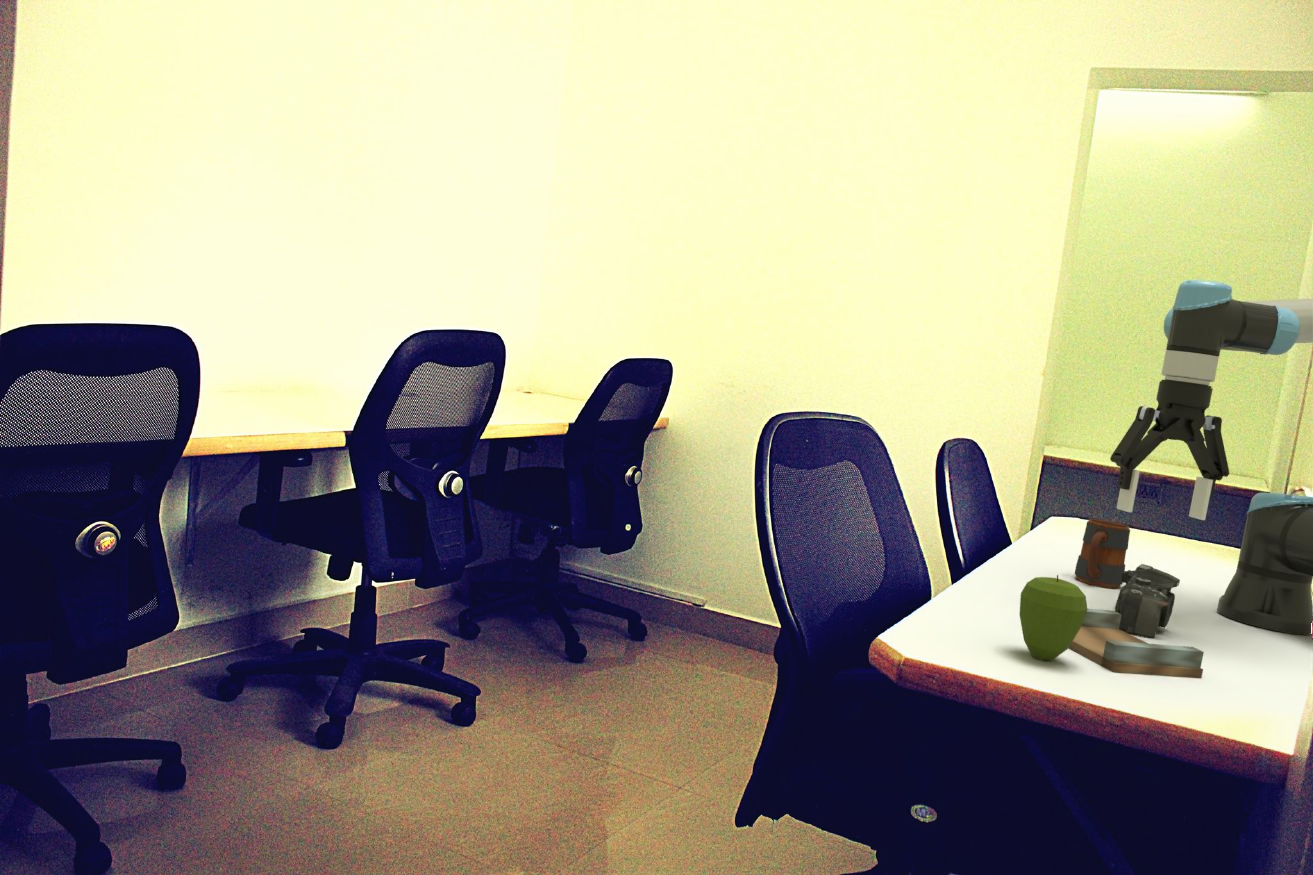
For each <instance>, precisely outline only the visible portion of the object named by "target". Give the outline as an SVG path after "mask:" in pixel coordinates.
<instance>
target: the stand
mask: <svg viewBox="0 0 1313 875" xmlns="http://www.w3.org/2000/svg"><path fill="white" fill-rule="evenodd" d="M1087 609H1088V610H1087V612H1086V615H1085V617H1084V620H1083V623H1082V625H1081V628H1080V630H1079V631H1078V633H1077V635H1076V636H1075V638H1074V640H1073V641H1072V643H1071V645H1070V646H1069V648H1068V649H1069V650H1072V651H1074V652H1075V653H1077V654H1079V655H1081V656H1083V657H1084V658H1085V659H1086V658H1087V659H1089V660H1090V661H1092V662H1094V663H1096V664H1098V665H1099V666H1101V667H1103V668H1105V669H1107V670H1108V671H1111V672H1113V673H1124V674H1141V675H1150V676H1151V675H1152V676H1153V675H1154V676H1167V677H1169V676H1170V677H1184V678H1185V677H1186V678H1199V679H1201V678H1203V672H1204V669H1203V668H1201V667H1202V664H1203V657H1204V655H1205V654H1204V653H1205V651H1203V650H1201V649H1199V648H1196V647H1194V646H1185V645H1174V644H1172V645H1170V644H1160V643H1159V644H1157V643H1148V642H1146V641H1145V640H1143V639H1140V638H1139V637H1136V636H1135V635H1133V634H1130V633H1127V632H1124V631H1121V630H1119V625H1120V620H1121V615H1122V614H1119V613H1117V612H1115V610H1111V609H1098V608H1088V607H1087Z"/></svg>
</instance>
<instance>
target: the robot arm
mask: <svg viewBox="0 0 1313 875" xmlns="http://www.w3.org/2000/svg"><path fill="white" fill-rule="evenodd" d="M1232 293H1233V289H1232V286H1231V284H1228V283H1224V282H1219V281H1210V280H1201V279H1198V280H1197V279H1192V280H1191V279H1189V280H1185V281H1182V282H1181V283H1180V284H1179V286H1178V289H1177V293H1176V296H1175V298H1174V299H1175V300H1174V303H1173V306H1172V308H1170V309H1169V311H1167V313H1166V315H1165V317H1164V320H1163V333H1164V336H1165V337H1166V339H1167V342H1166V349H1165V353H1164V358H1163V362H1162V364H1163V365H1162V369H1161V373H1160V374H1161V375H1162V376H1164V379H1161V381H1159V383H1158V389H1157V392H1156V393H1157V394H1156V402H1157V407H1156V409H1155V408H1154V407H1149V406H1142V405H1140V406H1138V408H1137V411H1136V414H1135V418H1134V421H1133V422H1132V424H1131V425H1130V426H1129V428H1128V429H1127V431H1126V432H1125V434H1124V436H1123V437H1122V438H1121V440H1120V442H1119V443H1118V444H1117V447H1116V448H1115V450H1114V451H1113V453H1112V454H1111V455H1110V459H1109V460H1110V461H1111V462H1113V463H1115V465H1116V466H1117V467H1119V468H1120V470H1119V475H1118V480H1117V488H1119V494H1118V498H1117V503H1116V509H1117V510H1119V511H1124V512H1127V513H1133V509H1134V505H1135V499H1136V493H1137V489H1138V484H1139V478H1140V472H1141V471H1139V470H1136V468H1137V467H1138V466H1139V465H1140V464H1142V463H1143V461H1144V460H1146V458H1148V456H1150V455H1151V453H1153V452H1154V451H1155V450H1156V449H1157V447H1158V446H1160V444H1161V443H1163V442H1165V441H1167V440H1171V441H1181V442H1184V443H1185V444H1186V445H1187V448H1188V450H1189V451H1190V453H1191V456H1192V458H1193V459H1194V462H1195V464H1196V466H1197V468H1198V471H1199V473H1200V474H1201V476H1196V477H1195V483H1194V488H1193V493H1192V497H1191V498H1192V499H1191V503H1190V509H1189V512H1188V513H1189V514H1188V517H1190V518H1194V519H1196V520H1200V521H1206V516H1207V513H1208V509H1209V508H1208V506H1209V502H1210V500H1212V498H1213V496H1214V491H1215V486H1216V482H1217V481H1221V480H1223V477H1225V478H1227V477H1229V476H1230V469H1229V463H1228V459H1227V454H1226V451H1225V445H1224V444H1225V443H1224V440H1223V436H1222V424H1223V419H1222V417H1221V416H1217V415H1206V414H1205V412H1206V410H1207V409H1208V408H1210V404H1211V400H1212V394H1213V390H1214V389H1213V386H1212V385H1210V384H1211V383H1213V382H1215V379H1216V374H1217V370H1218V369H1217V368H1218V364H1219V358H1220V356H1221V354H1220V353H1221V351H1234V352H1235V351H1236V352H1249V353H1256V354H1260V355H1264V356H1266V355H1272V356H1280V355H1283V354H1285V353H1287V352H1288V351H1289V350H1291V349H1292V347H1294V345H1295V344H1309V343H1310V344H1311V343H1312V344H1313V298H1295V299H1293V298H1291V299H1289V298H1288V299H1270V300H1247V301H1246V300H1245V301H1243V300H1242V301H1241V300H1236V299H1233V296H1232ZM1153 422H1155V423H1154V424H1153ZM1152 424H1153V426H1152ZM1151 426H1152V427H1151ZM1150 427H1151V428H1150ZM1202 428H1203V429H1202ZM1201 429H1202V430H1203V433H1202V430H1201ZM1239 551H1240V552H1239V557H1238V560H1237V565H1236V570H1235V573H1234V575H1233V577H1232V578H1231V580H1230V581H1229V584H1227V587H1226V589H1225V591H1224V594H1222V595H1221V596H1220V597H1219V600H1218V603H1217V607H1216V612H1218V613H1219V614H1221V615H1222V616H1225V617H1227V618H1229V619H1231V620H1234V621H1237V622H1241V623H1243V624H1247V625H1249V626H1253V627H1258V628H1262V629H1266V630H1271V631H1276V632H1281V633H1287V634H1293V635H1294V634H1295V635H1312V634H1311V623H1312V621H1313V597H1312V596H1313V595H1312V584H1313V496H1307V495H1297V494H1288V493H1287V494H1286V493H1276V492H1258V493H1256V494H1255V495H1254V496H1252V498H1251V501H1250V503H1249V509H1248V510H1247V511H1246V519H1245V523H1244V529H1243V533H1242V540H1241V545H1240V550H1239Z"/></svg>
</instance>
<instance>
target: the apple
mask: <svg viewBox="0 0 1313 875" xmlns="http://www.w3.org/2000/svg"><path fill="white" fill-rule="evenodd" d="M1019 601H1020V602H1019V619H1020V626H1021V630H1022V636H1023V641H1024V643H1025V645H1026V647H1027V649H1028V651H1029V653H1030V655H1031V657H1032V658H1034V659H1036V660H1040V661H1051V660H1054V659H1056V658H1058V657H1059V656H1060V655H1062V654H1063V653H1064V652H1066V651H1067V650H1068V649H1070V648H1069V646H1070V645H1071V643H1072V641H1073V640H1074V638H1075V636H1076V635H1077V633H1078V631H1079V630H1080V628H1081V625H1082V623H1083V620H1084V617H1085V615H1086V612H1087V610H1088V609H1089V608H1088V605H1087V604H1088V603H1087V597H1086V595H1085V594H1084V592H1083V591H1082V590H1081V589H1080V587H1079V586H1078V585H1076V584H1075V583H1073V582H1070V581H1067V580H1064V579H1061V578H1059V574H1057V575H1056V577H1048V576H1039V577H1038V576H1037V577H1036V576H1035V577H1034V578H1032V579H1030V580H1029V581H1027V582H1026V584H1025V585H1024V586H1023V589H1022V591H1021V592H1020V600H1019ZM1087 608H1088V609H1087Z"/></svg>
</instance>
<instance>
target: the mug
mask: <svg viewBox="0 0 1313 875" xmlns="http://www.w3.org/2000/svg"><path fill="white" fill-rule="evenodd" d="M1130 533H1131V529H1130V526H1128V525H1125V524H1122V523H1119V522H1114V521H1109V520H1103V519H1095V518H1091V519H1089V518H1088V521H1087V522H1086V527H1085V530H1084V534H1083V538H1082V541H1083V542H1082V547H1081V550H1080V555H1078V557H1077V561H1076V564H1075V569H1074V575H1075V578H1076V580H1077V581H1080V582H1081V583H1084V584H1087V585H1090V586H1093V587H1099V588H1104V589H1119V588H1120V587H1121V585H1123V584H1124V583H1123V582H1122V581H1121V579H1122V575H1123V572H1125V571H1126V564H1125V561H1126V555H1127V550H1128V549H1129V541H1130Z"/></svg>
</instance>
